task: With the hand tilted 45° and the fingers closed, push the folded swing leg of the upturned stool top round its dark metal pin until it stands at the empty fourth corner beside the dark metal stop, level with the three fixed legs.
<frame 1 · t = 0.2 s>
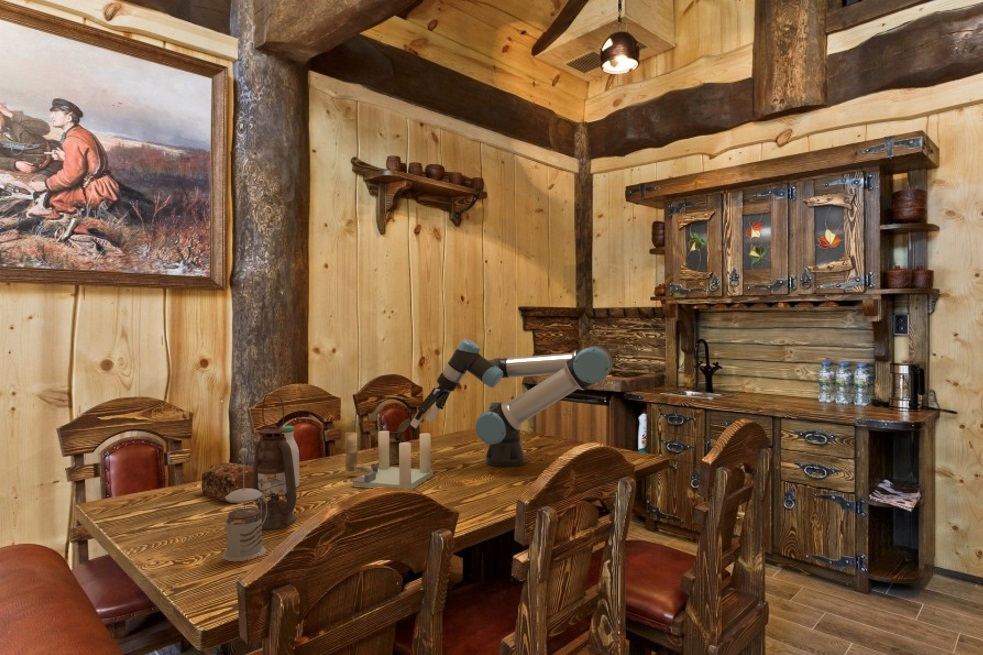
hand: (420, 423, 222), 16 cm above the table, tool tilted 35°, fingers open, 13 cm apart
milk bottle: (287, 487, 195), on the table
lantern: (274, 523, 161), on the table
stool top: (394, 481, 201), on the table
bread: (231, 496, 185), on the table
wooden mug: (395, 463, 226), on the table
french press: (247, 552, 140), on the table
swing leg: (361, 452, 205), point 9 cm above the table, hinge at 0.0°
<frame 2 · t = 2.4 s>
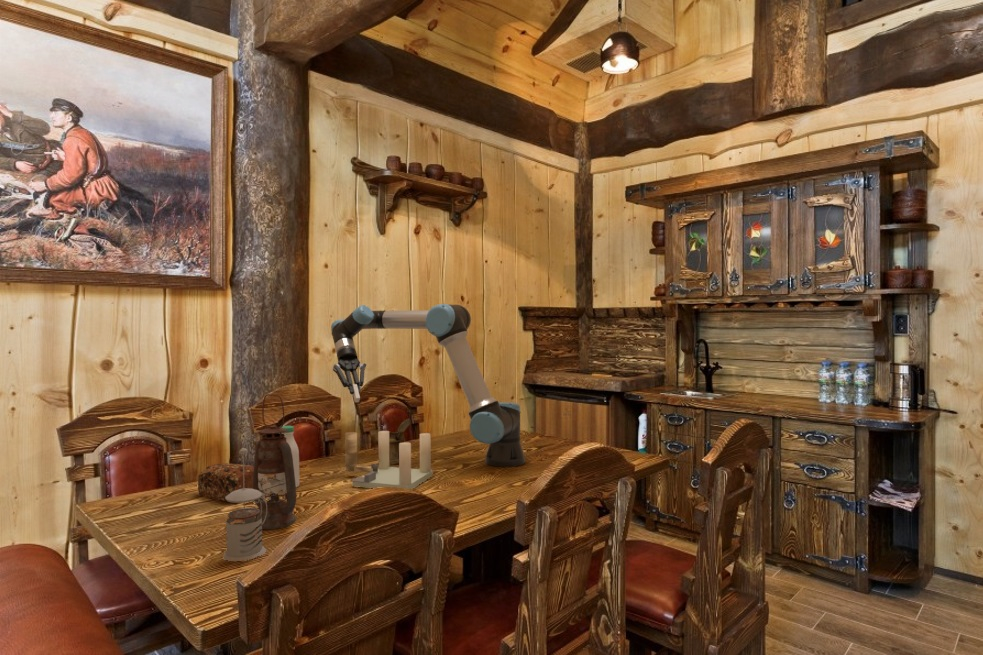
hand: (357, 400, 218), 25 cm above the table, tool tilted 45°, fingers closed
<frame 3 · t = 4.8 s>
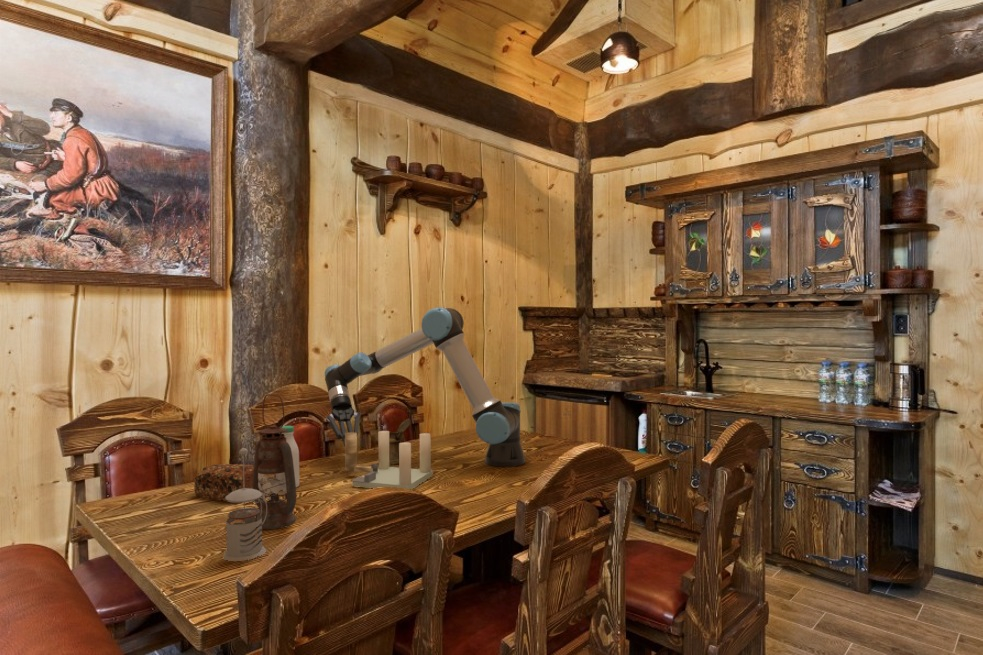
hand: (351, 453, 210), 8 cm above the table, tool tilted 45°, fingers closed
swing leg: (361, 452, 205), point 9 cm above the table, hinge at 1.4°, touching gripper
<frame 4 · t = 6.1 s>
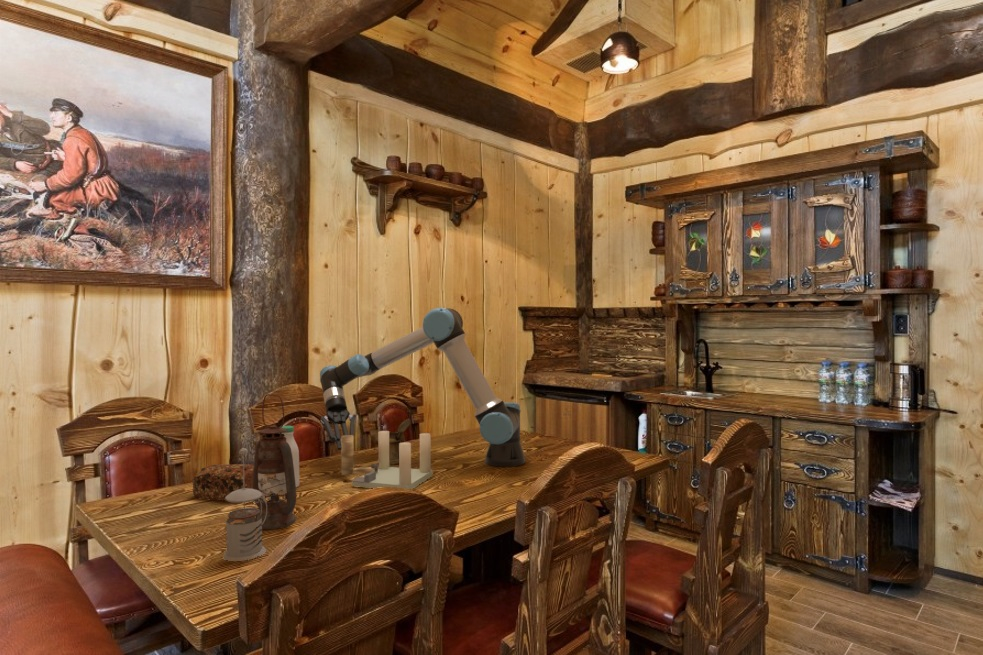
hand: (345, 456, 205), 8 cm above the table, tool tilted 45°, fingers closed, pressing on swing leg
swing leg: (359, 453, 203), point 9 cm above the table, hinge at 31.2°, touching gripper
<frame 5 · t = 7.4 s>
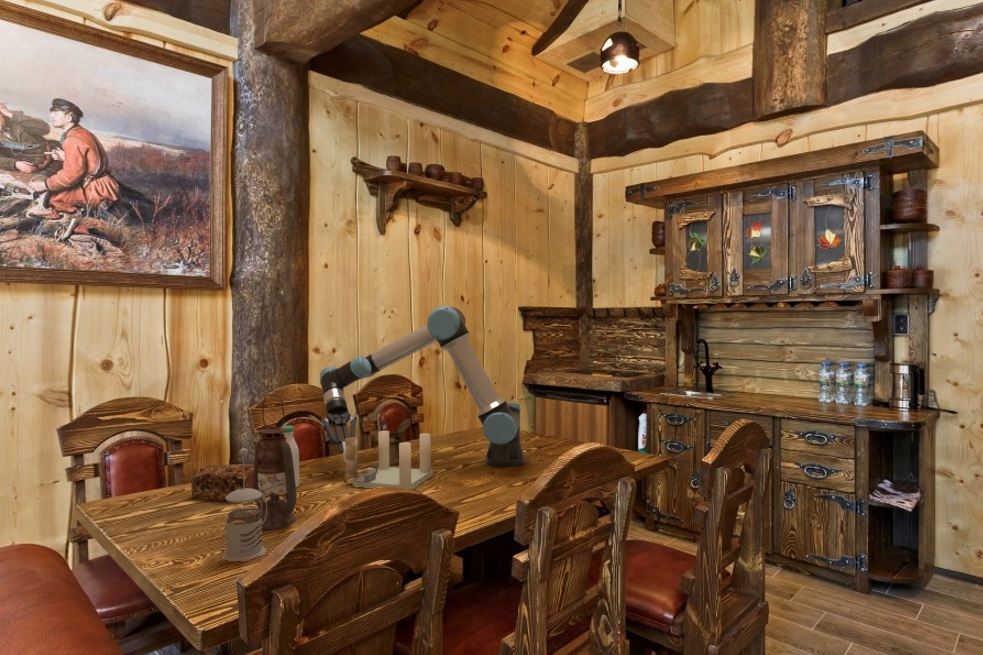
hand: (347, 459, 200), 8 cm above the table, tool tilted 45°, fingers closed
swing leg: (361, 455, 200), point 9 cm above the table, hinge at 61.7°, touching gripper
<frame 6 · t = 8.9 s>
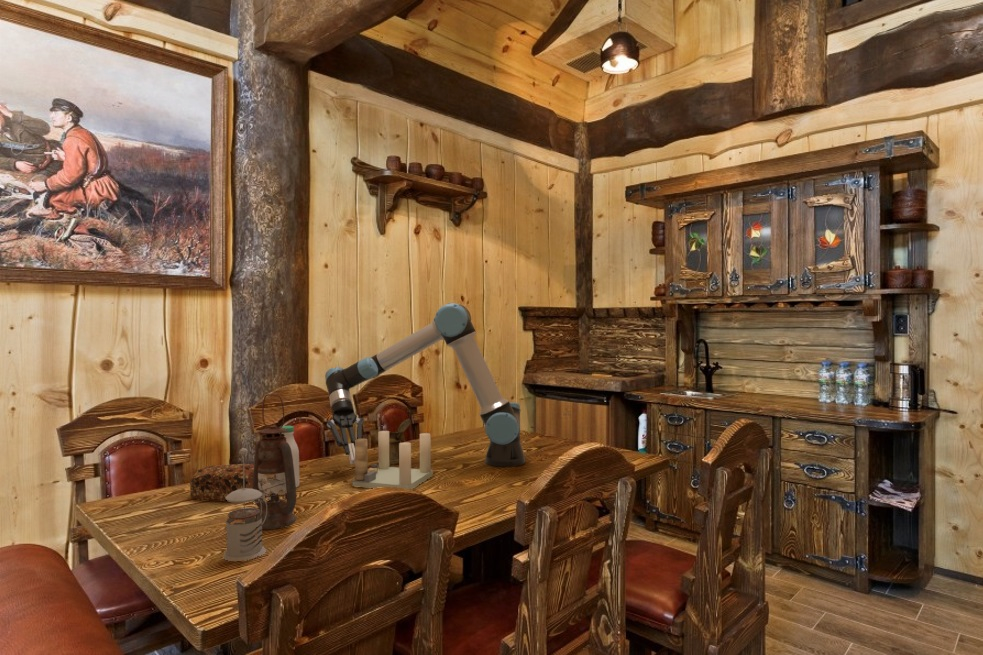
hand: (353, 461, 197), 8 cm above the table, tool tilted 45°, fingers closed
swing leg: (367, 456, 199), point 9 cm above the table, hinge at 90.4°, touching gripper
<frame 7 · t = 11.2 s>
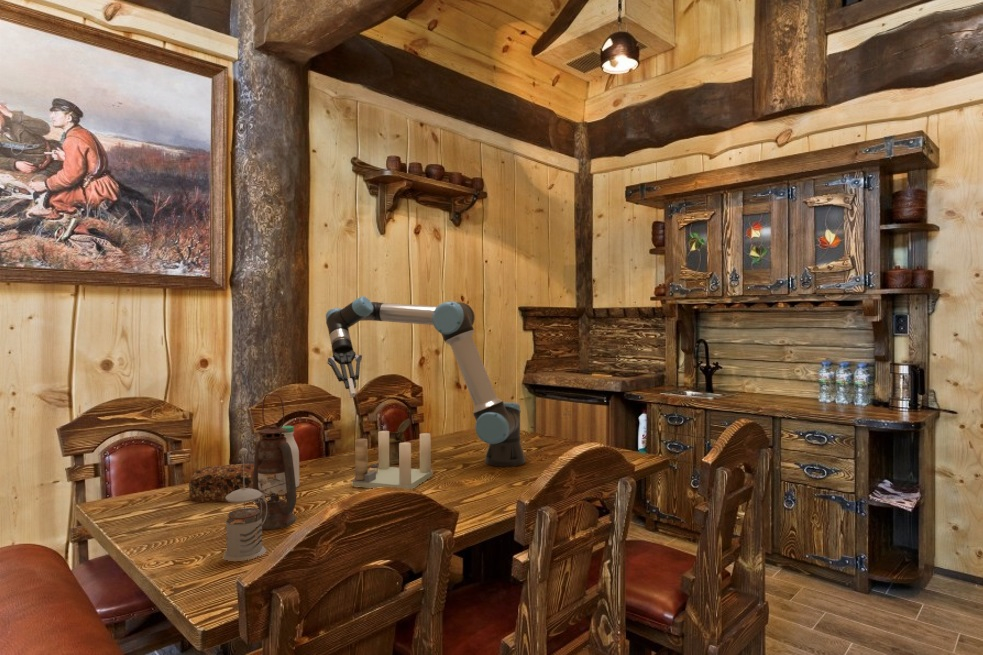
hand: (352, 395, 212), 28 cm above the table, tool tilted 40°, fingers closed
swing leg: (367, 456, 199), point 9 cm above the table, hinge at 90.4°
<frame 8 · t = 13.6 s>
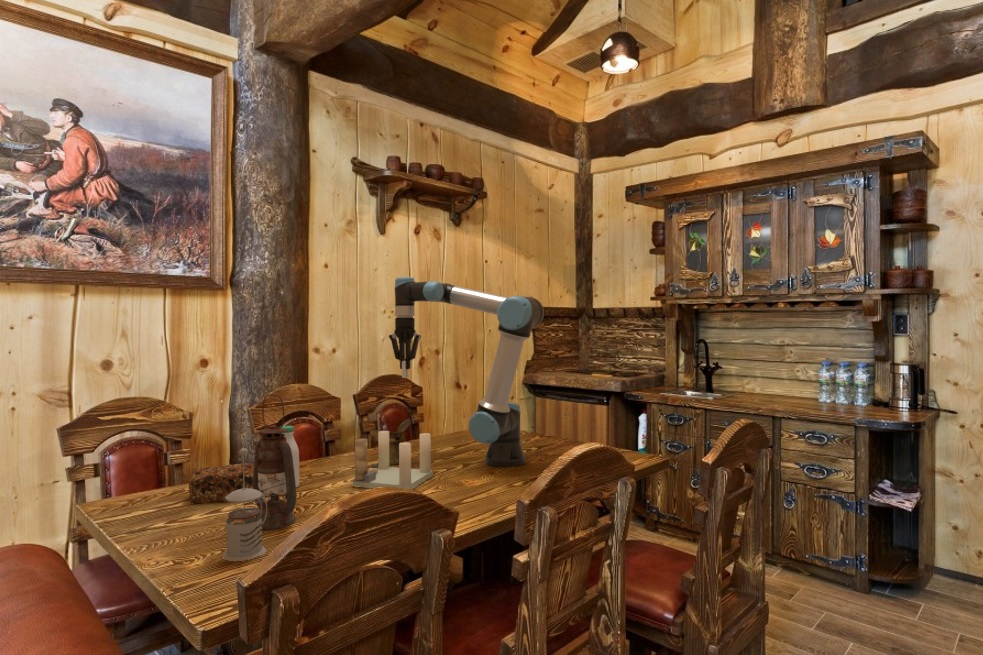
hand: (405, 377, 230), 32 cm above the table, tool pointing down, fingers closed
at the end: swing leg at +90° (first picture: +0°) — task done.
